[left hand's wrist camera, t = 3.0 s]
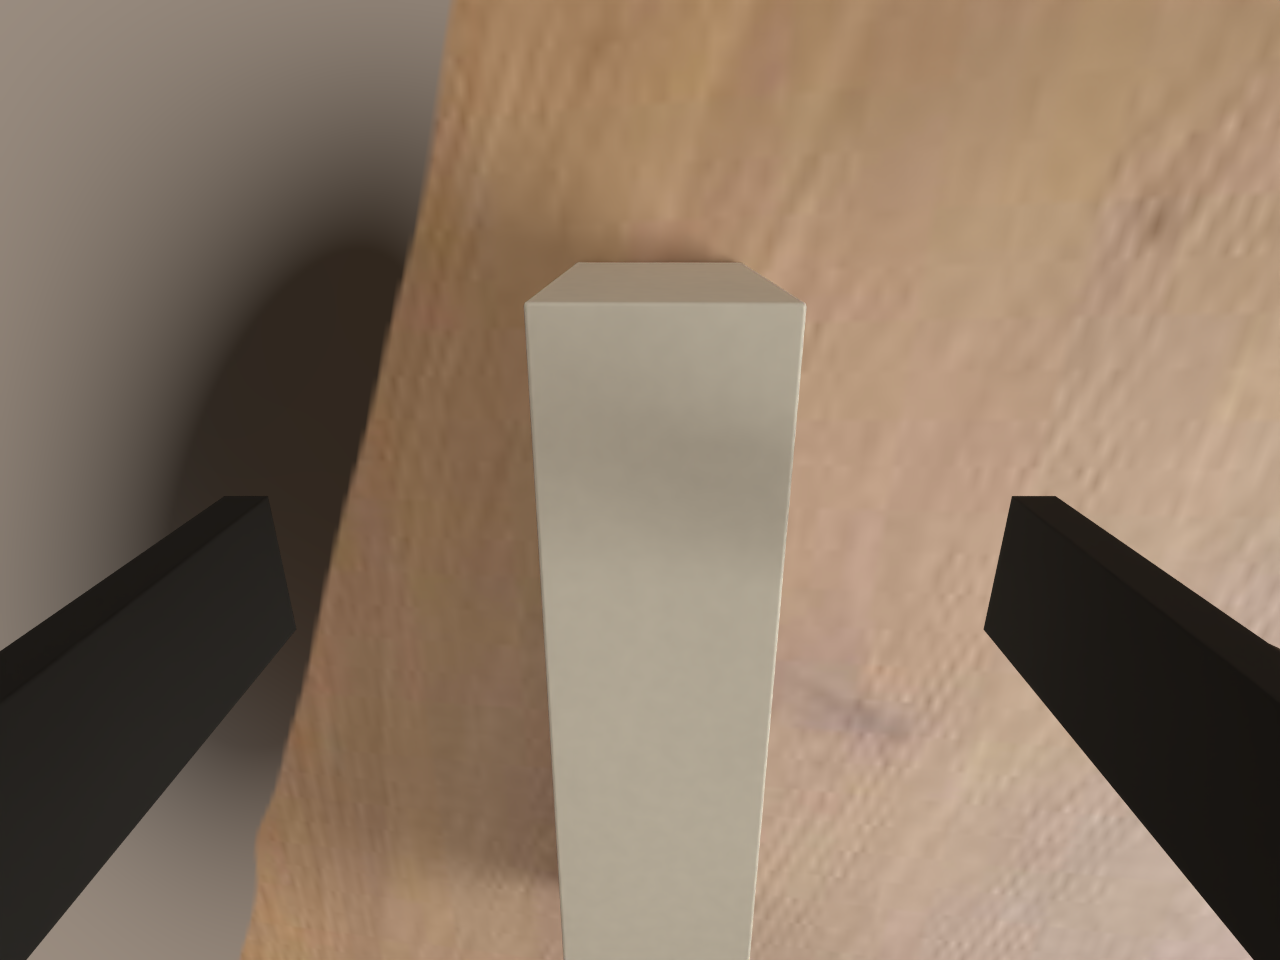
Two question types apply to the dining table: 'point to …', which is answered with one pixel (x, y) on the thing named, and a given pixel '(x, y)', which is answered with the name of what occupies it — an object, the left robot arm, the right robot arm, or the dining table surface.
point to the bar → (661, 590)
